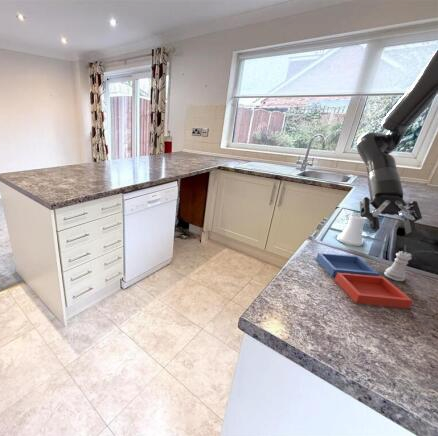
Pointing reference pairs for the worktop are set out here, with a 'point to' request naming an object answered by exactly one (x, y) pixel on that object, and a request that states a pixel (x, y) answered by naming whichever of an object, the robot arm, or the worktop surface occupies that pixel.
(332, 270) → the blue tray
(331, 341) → the worktop surface
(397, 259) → the rook chess piece
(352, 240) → the vase
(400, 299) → the red tray
